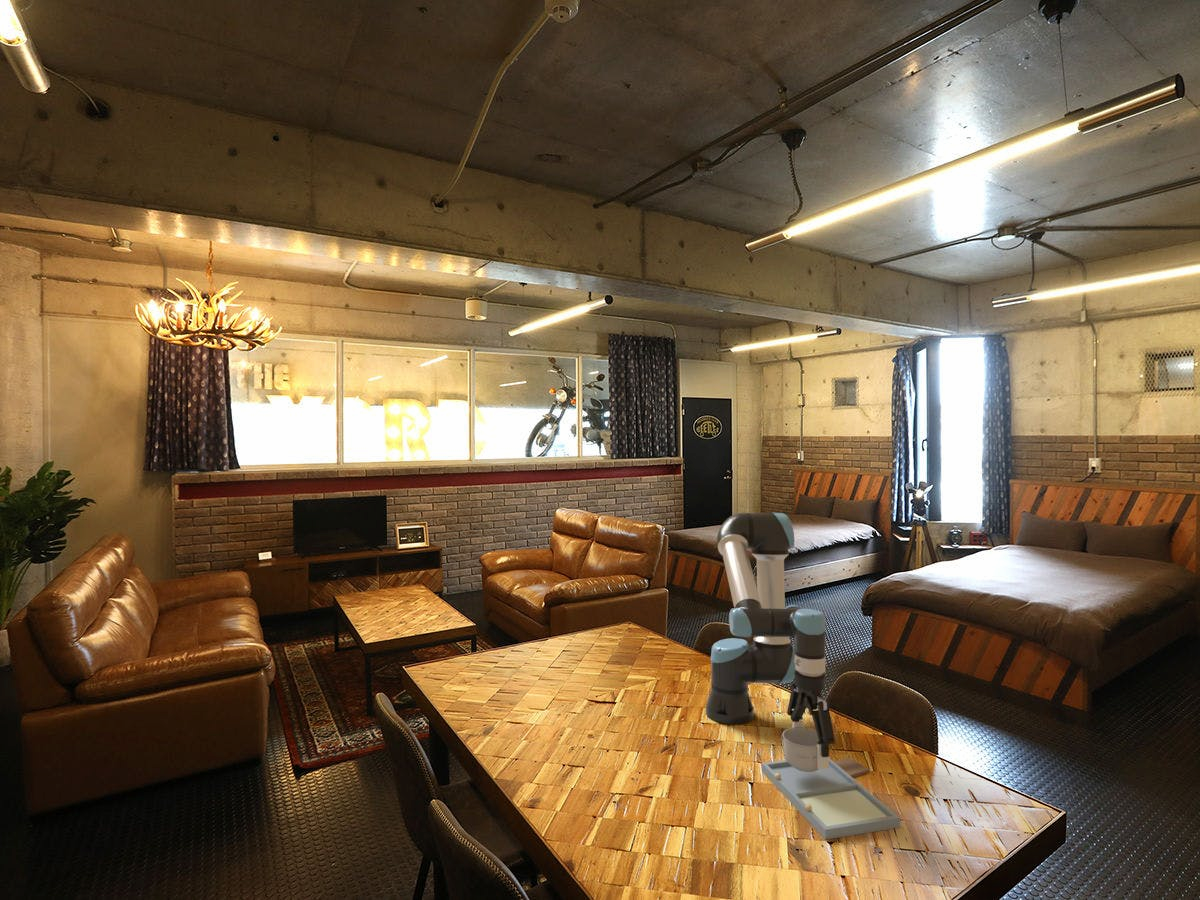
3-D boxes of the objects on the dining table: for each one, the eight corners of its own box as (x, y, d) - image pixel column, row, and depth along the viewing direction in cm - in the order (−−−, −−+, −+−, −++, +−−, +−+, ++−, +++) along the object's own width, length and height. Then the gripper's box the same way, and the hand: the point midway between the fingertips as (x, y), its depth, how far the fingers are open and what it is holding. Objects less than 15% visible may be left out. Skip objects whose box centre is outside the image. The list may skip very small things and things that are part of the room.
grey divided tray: (761, 771, 163) (761, 760, 163) (825, 762, 168) (825, 751, 168) (824, 839, 135) (824, 826, 135) (899, 827, 139) (899, 814, 139)
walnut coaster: (829, 767, 167) (829, 762, 167) (848, 761, 169) (848, 757, 169) (849, 779, 160) (849, 775, 160) (869, 773, 163) (869, 769, 163)
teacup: (797, 780, 151) (797, 748, 151) (774, 757, 162) (774, 727, 162) (846, 772, 155) (846, 741, 154) (820, 750, 165) (820, 721, 165)
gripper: (773, 657, 168) (773, 737, 168) (822, 689, 146) (823, 782, 146) (798, 655, 170) (798, 734, 170) (850, 687, 147) (850, 778, 147)
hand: (809, 756), depth 158 cm, fingers closed on teacup, 11 cm apart
